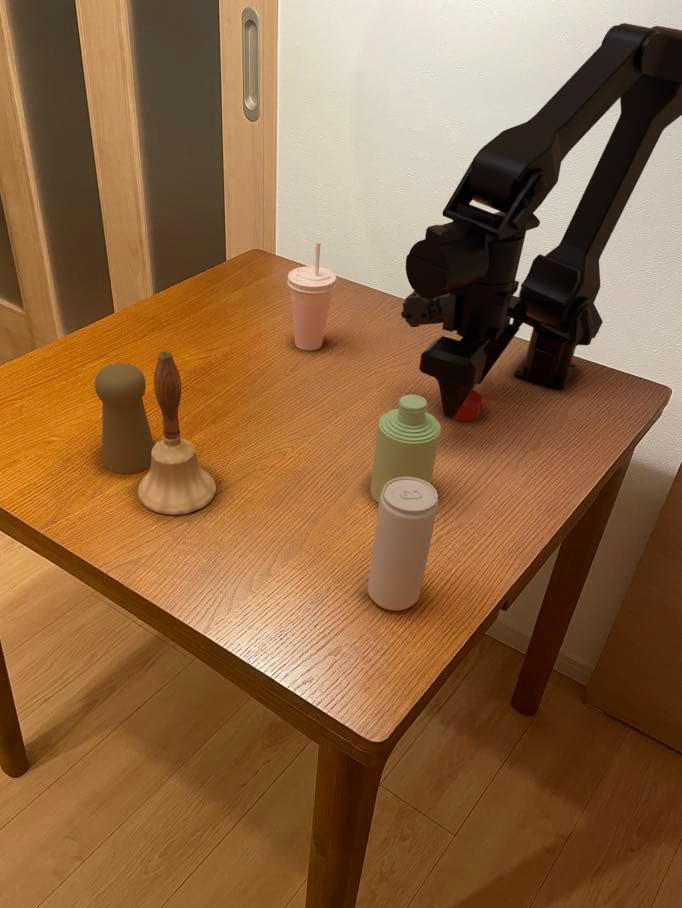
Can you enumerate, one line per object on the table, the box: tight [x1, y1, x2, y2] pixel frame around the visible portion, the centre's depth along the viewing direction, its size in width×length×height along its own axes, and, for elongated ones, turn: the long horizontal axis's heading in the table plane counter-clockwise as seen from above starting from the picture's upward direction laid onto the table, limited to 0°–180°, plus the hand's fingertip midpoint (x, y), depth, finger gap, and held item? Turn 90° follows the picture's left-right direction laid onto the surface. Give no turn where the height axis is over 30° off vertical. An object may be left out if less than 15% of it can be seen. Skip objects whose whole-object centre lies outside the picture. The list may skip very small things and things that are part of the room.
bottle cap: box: [451, 389, 483, 423], centre depth 97 cm, size 4×4×2 cm
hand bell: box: [137, 350, 217, 516], centre depth 79 cm, size 8×8×16 cm
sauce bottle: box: [369, 393, 442, 504], centre depth 82 cm, size 6×6×11 cm
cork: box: [94, 362, 155, 475], centre depth 85 cm, size 6×6×11 cm
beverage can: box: [367, 477, 439, 612], centre depth 70 cm, size 5×5×12 cm
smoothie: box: [286, 241, 337, 351], centre depth 105 cm, size 6×6×14 cm
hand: (462, 399), depth 96 cm, fingers open, 9 cm apart
